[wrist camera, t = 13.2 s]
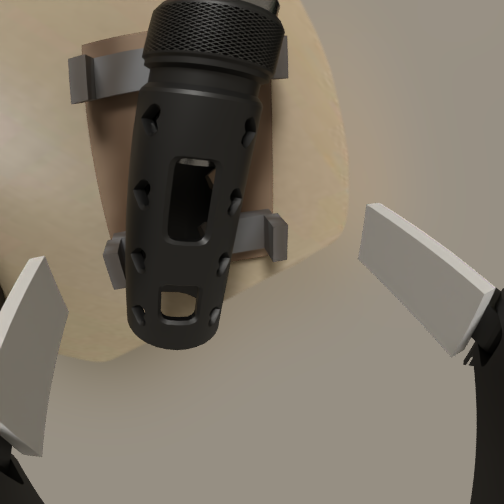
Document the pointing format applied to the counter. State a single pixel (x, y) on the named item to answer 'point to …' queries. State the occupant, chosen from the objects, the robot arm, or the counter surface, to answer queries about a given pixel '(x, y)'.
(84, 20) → the counter surface
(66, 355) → the counter surface
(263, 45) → the muzzle brake
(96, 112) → the mounting board
